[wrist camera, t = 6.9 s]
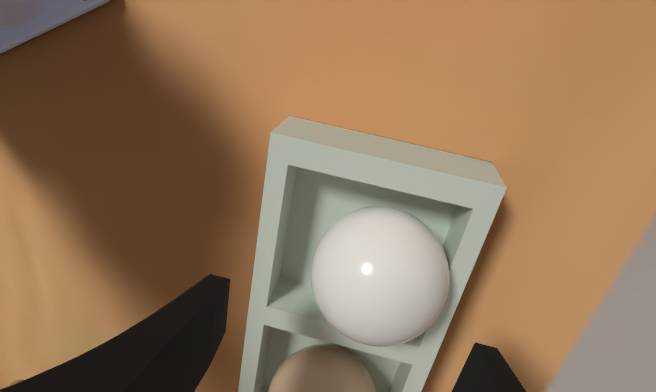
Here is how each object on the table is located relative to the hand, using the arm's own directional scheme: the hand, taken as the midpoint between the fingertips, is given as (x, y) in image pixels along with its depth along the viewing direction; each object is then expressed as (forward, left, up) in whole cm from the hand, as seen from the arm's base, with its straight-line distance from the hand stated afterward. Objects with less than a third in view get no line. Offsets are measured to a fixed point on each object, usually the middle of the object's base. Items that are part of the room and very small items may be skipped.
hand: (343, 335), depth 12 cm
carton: (-2, -3, -6) cm, 7 cm away
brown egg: (-4, -7, -6) cm, 10 cm away
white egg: (0, 0, -6) cm, 6 cm away
